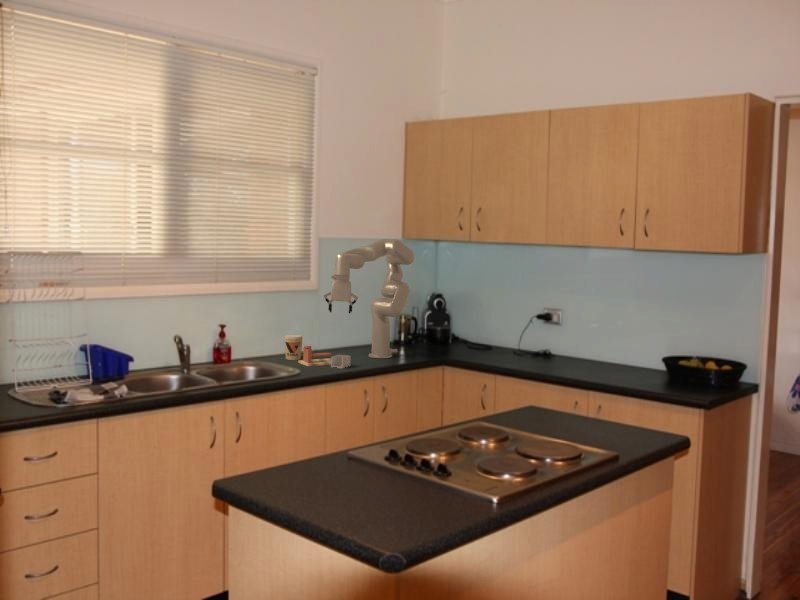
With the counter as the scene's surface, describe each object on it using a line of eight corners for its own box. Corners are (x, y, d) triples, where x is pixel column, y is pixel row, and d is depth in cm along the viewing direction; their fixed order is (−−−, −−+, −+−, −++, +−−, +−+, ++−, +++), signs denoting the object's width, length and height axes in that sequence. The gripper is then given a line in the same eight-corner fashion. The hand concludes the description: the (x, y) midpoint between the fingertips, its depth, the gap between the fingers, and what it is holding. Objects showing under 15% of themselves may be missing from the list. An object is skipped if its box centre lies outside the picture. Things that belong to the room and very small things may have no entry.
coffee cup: (282, 360, 426) (283, 336, 425) (285, 357, 436) (286, 334, 435) (300, 360, 426) (301, 337, 425) (303, 357, 435) (304, 334, 434)
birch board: (339, 359, 432) (339, 357, 432) (349, 363, 422) (349, 361, 421) (298, 362, 420) (298, 360, 420) (307, 366, 410) (307, 364, 410)
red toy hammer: (327, 359, 425) (327, 344, 424) (332, 361, 420) (332, 345, 419) (301, 361, 418) (301, 345, 417) (306, 363, 413) (306, 347, 412)
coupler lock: (338, 365, 417) (339, 354, 416) (350, 366, 414) (350, 355, 414) (330, 367, 410) (331, 356, 409) (342, 368, 407) (342, 358, 407)
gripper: (323, 277, 412) (322, 312, 413) (358, 279, 412) (356, 314, 413) (325, 277, 420) (323, 311, 421) (359, 279, 420) (357, 313, 421)
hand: (340, 312), depth 417 cm, fingers open, 9 cm apart
